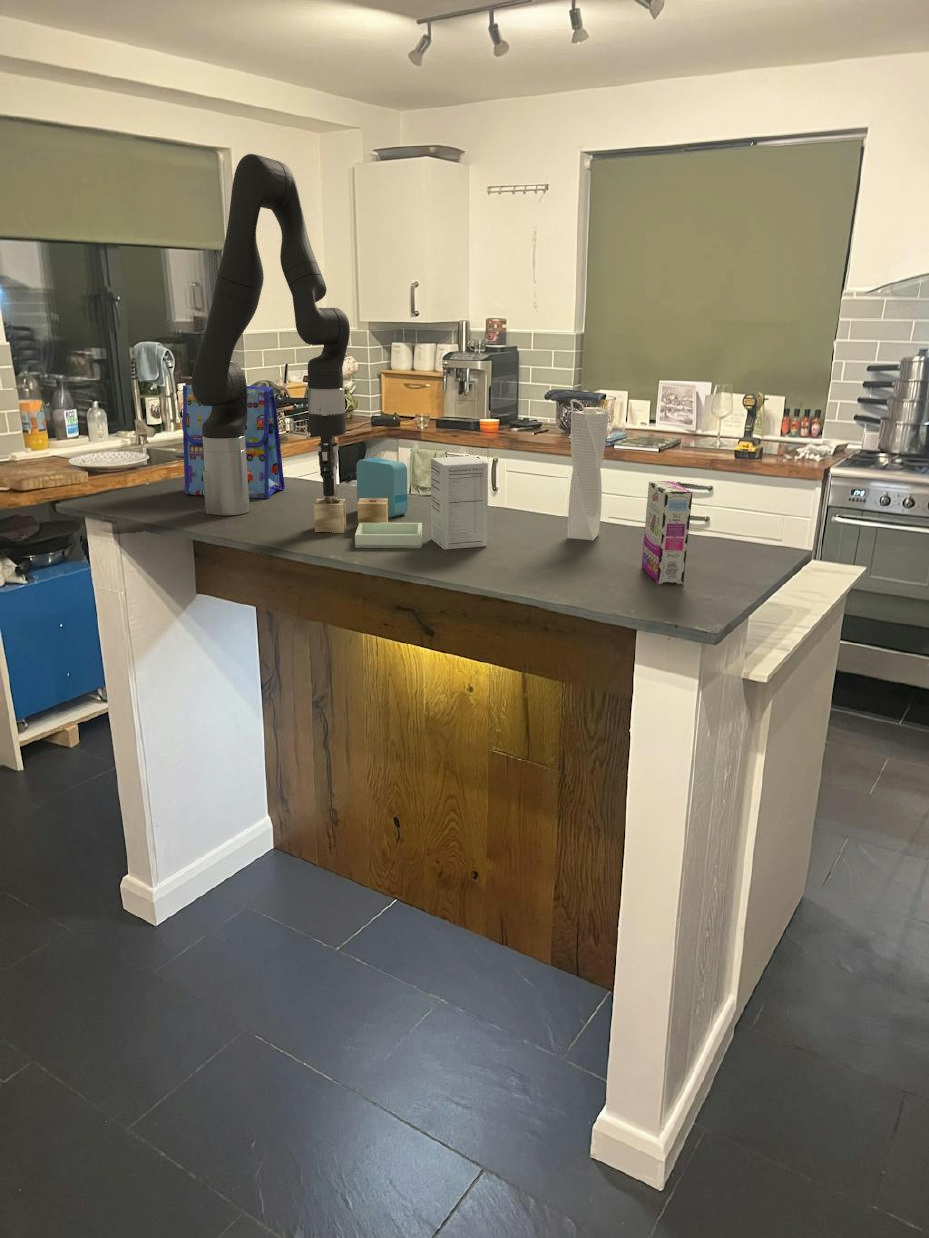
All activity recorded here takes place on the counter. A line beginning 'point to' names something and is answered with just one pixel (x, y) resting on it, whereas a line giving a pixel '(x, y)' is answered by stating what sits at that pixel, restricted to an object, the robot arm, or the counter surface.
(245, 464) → the robot arm
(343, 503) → the beech block wide bore
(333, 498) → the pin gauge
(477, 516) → the supplement box
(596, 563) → the counter surface
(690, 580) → the counter surface
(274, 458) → the lunch bag
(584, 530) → the skyscraper
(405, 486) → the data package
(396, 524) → the tray
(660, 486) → the candy bar box
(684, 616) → the counter surface
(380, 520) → the oak block narrow bore
